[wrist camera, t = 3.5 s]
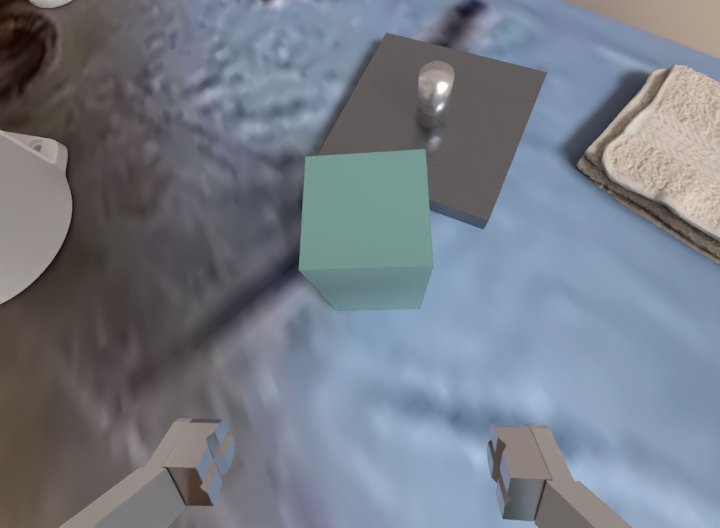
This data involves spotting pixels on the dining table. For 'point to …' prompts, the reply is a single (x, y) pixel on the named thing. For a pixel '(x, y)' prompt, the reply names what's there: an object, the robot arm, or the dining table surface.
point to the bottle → (49, 3)
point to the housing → (367, 229)
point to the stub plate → (463, 134)
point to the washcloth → (666, 156)
